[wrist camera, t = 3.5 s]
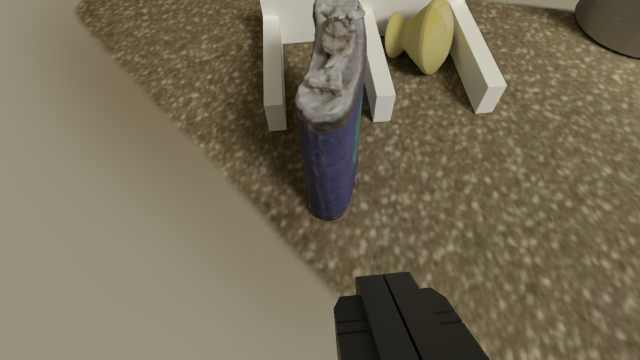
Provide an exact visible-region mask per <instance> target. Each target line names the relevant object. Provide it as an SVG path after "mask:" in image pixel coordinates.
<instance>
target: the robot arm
mask: <svg viewBox="0 0 640 360" xmlns="http://www.w3.org/2000/svg"><path fill="white" fill-rule="evenodd" d="M575 16H576V20H577V21H578V23H579V25H580V27H581V28H582V29H583V30H584V31H585V32H586V33H587V34H588V35H589V36H590V37H592V38H593V39H594V40H596V41H597V42H599V43H601V44H602V45H604V46H606V47H608V48H610V49H612V50H615V51H617V52H619V53H622V54H626V55H629V56H632V57H636V58H640V0H579V2H578V3H577V5H576V8H575ZM355 286H356V295H353V296H343V297H339V299H338V301H337V303H336V305H335V307H334V318H335V329H336V342H337V354H338V360H489V358H488V357H487V355H486V354H485V353H484V351H483V350H482V348H481V347H480V346H479V344H478V343H477V341H476V340H475V338H474V337H473V336H472V334H471V333H470V331H469V330H468V329H467V327H466V326H465V324H464V323H462V320H461V319H460V317H459V316H458V314H457V313H456V312H455V311H454V309H453V307H452V306H451V304H450V303H449V302H448V300H447V299H446V297H444V296H443V295H441V294H440V293H438V292H437V291H435V290H434V289H432V288H422V289H419V287H418V285H417V284H416V282H415V280H414V279H413V277H412V275H411V274H410V272H400V273H390V274H383V275H381V274H380V275H370V276H360V277H356V278H355Z"/></svg>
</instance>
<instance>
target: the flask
mask: <svg viewBox="0 0 640 360" xmlns="http://www.w3.org/2000/svg"><path fill="white" fill-rule="evenodd" d="M364 16H365V10H363V7H362V5H361V3H360V2H359V0H315V2H314V4H313V21H314V25H315V34H314V37H315V39H314V44H313V51H312V55H311V61H310V64H309V67H308V71H307V73H306V75H305V76H304V79H303V81H302V82H301V84H300V85H299V87H298V91H297V93H296V97H295V101H294V102H295V109H296V118H297V123H298V131H299V133H300V144H301V147H302V155H303V165H304V170H305V178H306V181H307V189H308V197H309V208H310V210H311V212H312V213H313V215H314V216H315V217H316V219H317V221H320V220H322V221H326V222H327V221H329V222H334V221H337V220H340V219H342V217H343V216H344V215H345V214H346V213H347V209H348V207H349V206H350V203H351V201H352V196H353V190H354V188H355V180H356V178H357V177H356V175H357V165H358V159H357V156H358V155H357V152H358V141H359V130H360V118H361V109H362V96H363V86H364V77H365V69H366V56H367V37H366V28H365V22H364Z"/></svg>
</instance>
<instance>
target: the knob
mask: <svg viewBox="0 0 640 360" xmlns="http://www.w3.org/2000/svg"><path fill="white" fill-rule="evenodd" d="M453 31H454V20H453V15H452V11H451V8H450V6H449V4H448V2H447V1H446V0H432V1H431V2H430V3H429V4H428V5H427V6H425V7H424V8H423V9H421V10H420V11H419V12H418V13H417V14H416V15H415V16H414V17H413V18H412V19H411V20H410V21H408V20H407V19H406V18H405V16H404V15H403V14H402V13H400V12H398V11H397V12H395V13H393V14H392V15H391V17H390V19H389V21H388V24H387V27H386V32H385V48H386V52H387V55H388V56H389V57H390V58H395V57H397V56H398V55H400V54H401V53H402V52H403V51H404V50H405V51H406V52H407V53H408V55H409V56H410V57H411V59H412V60H413V61H414V62H415V63H416V65H417V66H419V68H420V70H421V71H422V72H423V73H424V74H427V75H430V74H433V73H434V72H436V71H437V70H438V68H439V67H440V66H441V65H442V63H443V62H444V60H445V59H446V57H447V55H448V53H449V50H450V47H451V43H452V39H453Z"/></svg>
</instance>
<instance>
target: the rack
mask: <svg viewBox="0 0 640 360" xmlns="http://www.w3.org/2000/svg"><path fill="white" fill-rule="evenodd" d="M431 1H432V0H359V2H360V3H361V5H362V7H363V10H365V16H364V22H365V28H366V37H367V56H366V69H365V77H364V83H365V87H366V92H367V97H368V101H369V106H370V111H371V115H372V120H373V122H383V121H390V119H391V114H392V110H393V105H394V100H395V96H396V95H395V91H394V87H393V83H392V80H391V76H390V72H389V69H388V65H387V61H386V58H385V54H384V50H383V47H382V43H381V39H380V36H385V32H386V27H387V24H388V21H389V19H390V17H391V15H392V14H393V13H395V12H397V11H398V12H400V13H402V14H403V15H404V16H405V18H406V19H407V20H408V21H410V20H411V19H412V18H413V17H414V16H415V15H416V14H417V13H418V12H419V11H420V10H421V9H423V8H424V7H425V6H427V5H428V4H429V3H430V2H431ZM446 1H447V2H448V4H449V6H450V8H451V11H452V15H453V20H454V31H453V39H452V43H451V47H450V50H449V52H450V54H451V57H452V59H453V61H454V64H455V66H456V69H457V71H458V73H459V76H460V78H461V81H462V83H463V86H464V88H465V90H466V93H467V95H468V98H469V100H470V102H471V105H472V107H473V110H474V112H475V114H477V113H488V112H492V111H493V110H494V108H495V106H496V104H497V102H498V101H499V99H500V97H501V95H502V94H503V92H504V90H505V88H506V86H507V85H506V83H505V81H504V79H503V77H502V75H501V73H500V71H499V69H498V67H497V65H496V63H495V61H494V59H493V57H492V55H491V53H490V51H489V49H488V47H487V45H486V43H485V41H484V39H483V37H482V35H481V33H480V31H479V29H478V27H477V25H476V23H475V21H474V19H473V17H472V15H471V13H470V11H469V9H468V7H467V5H466V3H465V0H446ZM314 2H315V0H260V3H261V9H262V14H263V79H264V110H265V114H266V118H267V122H268V127H269V131H278V130H287V122H286V102H285V83H284V63H283V44H287V43H300V42H312V41H314V39H315V37H314V34H315V25H314V21H313V4H314Z"/></svg>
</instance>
